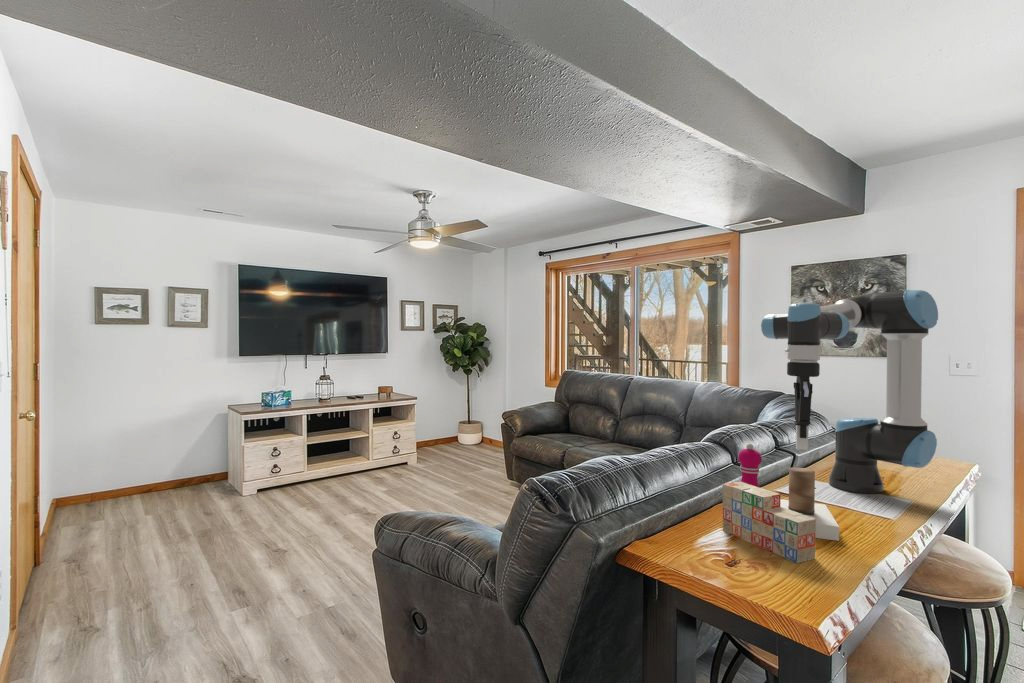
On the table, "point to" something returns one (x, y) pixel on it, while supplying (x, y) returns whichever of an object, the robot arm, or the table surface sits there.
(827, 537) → the cream board
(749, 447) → the pepper mill
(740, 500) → the stack of blocks
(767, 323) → the robot arm
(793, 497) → the walnut peg
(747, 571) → the table surface
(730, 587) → the table surface
